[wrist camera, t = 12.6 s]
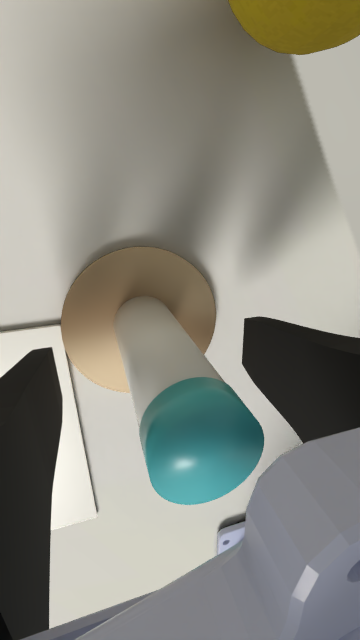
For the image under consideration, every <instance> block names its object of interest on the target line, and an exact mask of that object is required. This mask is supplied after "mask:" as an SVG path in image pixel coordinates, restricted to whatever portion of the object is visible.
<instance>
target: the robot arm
mask: <svg viewBox="0 0 360 640" xmlns="http://www.w3.org/2000/svg"><path fill="white" fill-rule="evenodd" d="M242 364H243V366H244V368H245V369H246V371H247V373H248V375H249V376H250V378H251V379H252V381H253V382H254V383H255V385H256V386H257V387H258V388H259V389H260V391H261V392H262V393H263V394H264V395H265V397H266V398H267V399H268V400H269V401H270V402H271V403H272V405H273V406H274V407H275V408H276V409H277V410H278V411H279V413H280V414H281V415H282V416H283V417H284V418H285V420H286V421H287V422H288V423H289V424H290V426H291V427H292V428H293V429H294V431H295V432H296V433H297V435H298V436H299V438H300V439H301V441H302V442H303V443H304V444H302V445H300V446H298V447H296V448H294V449H292V450H290V451H288V452H286V453H284V454H282V455H280V456H279V457H278V458H277V459H276V460H275V461H274V462H273V463H272V464H271V465H270V466H269V467H268V468H267V469H266V470H265V471H264V472H263V474H262V475H261V476H260V477H259V478H258V480H257V483H256V486H255V488H254V491H253V493H252V496H251V498H250V501H249V504H248V506H247V509H246V521H244V522H241V523H238V524H234V525H231V526H228V527H225V528H223V529H221V530H220V531H219V533H218V543H217V556H215V557H214V558H212V559H210V560H209V561H207V562H205V563H203V564H202V565H200V566H198V567H197V568H195V569H193V570H192V571H190V572H188V573H187V574H185V575H183V576H181V577H180V578H178V579H176V580H175V581H173V582H171V583H170V584H168V585H166V586H165V587H163V588H161V589H159V590H156V591H154V592H151V593H148V594H145V595H143V596H140V597H137V598H134V599H131V600H129V601H126V602H123V603H120V604H118V605H115V606H112V607H109V608H106V609H104V610H101V611H98V612H95V613H93V614H90V615H87V616H84V617H81V618H79V619H76V620H73V621H70V622H68V623H65V624H62V625H59V626H56V627H54V628H51V629H49V576H50V535H51V508H52V491H53V481H54V474H55V468H56V461H57V455H58V448H59V442H60V435H61V428H62V416H63V397H62V392H61V387H60V382H59V378H58V373H57V368H56V364H55V359H54V354H53V349H52V347H48V348H41V349H34V350H32V351H30V352H29V353H28V354H27V355H25V356H24V357H23V358H22V359H21V360H20V361H19V362H18V363H16V364H15V365H14V366H13V367H12V368H11V369H10V370H9V371H7V372H6V373H5V374H4V375H3V376H2V377H1V378H0V640H360V338H355V337H348V336H343V335H337V334H333V333H328V332H324V331H319V330H315V329H311V328H307V327H303V326H299V325H296V324H292V323H288V322H284V321H280V320H276V319H272V318H267V317H252V318H245V319H244V337H243V354H242Z"/></svg>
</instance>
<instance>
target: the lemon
mask: <svg viewBox="0 0 360 640" xmlns="http://www.w3.org/2000/svg"><path fill="white" fill-rule="evenodd" d="M228 1H229V4H230V6H231V9H232V12H233V13H234V15H235V16H236V18H237V19H238V21H239V22H240V24H241V26H242V27H243V29H244V30H245V31H246V32H247V33H248V34H249V35H250V36H251V37H253V38H254V39H255V40H256V41H257V42H258V43H259V44H261V45H263V46H265V47H267V48H269V49H271V50H273V51H276V52H279V53H287V54H296V55H304V54H310V53H314V52H318V51H322V50H326V49H330V48H334V47H337V46H339V45H342V44H344V43H346V42H348V41H350V40H352V39H354V38H355V37H357V36H359V35H360V0H228Z"/></svg>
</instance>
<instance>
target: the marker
mask: <svg viewBox="0 0 360 640" xmlns="http://www.w3.org/2000/svg"><path fill="white" fill-rule="evenodd" d="M114 332H115V335H116V339H117V343H118V347H119V351H120V355H121V359H122V363H123V366H124V370H125V374H126V378H127V382H128V386H129V390H130V394H131V397H132V401H133V405H134V409H135V413H136V417H137V421H138V425H139V428H140V429H139V435H140V441H141V445H142V449H143V453H144V457H145V461H146V465H147V469H148V473H149V477H150V481H151V483H152V486H153V488H154V489H155V491H156V492H157V493H158V494H159V495H160V496H161V497H163V498H164V499H166V500H168V501H170V502H173V503H177V504H185V505H192V504H200V503H205V502H209V501H212V500H215V499H217V498H219V497H221V496H223V495H225V494H227V493H229V492H230V491H232V490H233V489H235V488H236V487H237V486H239V485H240V484H241V483H242V482H243V481H244V480H245V479H246V478H247V477H248V476H249V475H250V474H251V473H252V471H253V470H254V468H255V467H256V465H257V464H258V462H259V460H260V457H261V455H262V451H263V447H264V434H263V430H262V427H261V426H260V424H259V422H258V421H257V420H256V418H255V417H254V416H253V414H252V413H251V412H250V411H249V409H248V408H247V407H246V406H245V404H244V403H243V402H242V400H241V399H240V398H239V397H238V395H237V394H236V393H235V392H234V390H233V389H232V388H231V387H230V386H229V385H228V384H226V383H225V382H224V380H223V379H222V378H221V377H220V375H219V374H218V373H217V371H216V370H215V369H214V368H213V366H212V365H211V364H210V362H209V361H208V360H207V358H206V357H205V356H204V355H203V353H202V352H201V351H200V349H199V348H198V347H197V345H196V344H195V343H194V342H193V340H192V339H191V338H190V336H189V335H188V334H187V333H186V331H185V330H184V329H183V327H182V326H181V325H180V323H179V322H178V321H177V320H176V318H175V317H174V316H173V314H172V313H171V312H170V311H169V309H168V308H167V307H166V305H165V304H164V303H163V302H161V301H160V300H158V299H157V298H154V297H150V296H139V297H135V298H132V299H130V300H128V301H127V302H125V303H124V304H123V305H122V306H121V307H120V308H119V310H118V311H117V313H116V315H115V318H114Z"/></svg>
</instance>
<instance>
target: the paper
mask: <svg viewBox="0 0 360 640" xmlns="http://www.w3.org/2000/svg"><path fill="white" fill-rule="evenodd" d="M48 347H52V349H53V354H54V359H55V364H56V368H57V373H58V378H59V382H60V387H61V392H62V397H63V416H62V428H61V435H60V442H59V448H58V455H57V461H56V468H55V474H54V481H53V491H52V508H51V531H52V530H55V529H59V528H62V527H66V526H69V525H73V524H76V523H80V522H83V521H87V520H90V519H94V518H97V511H96V505H95V500H94V495H93V490H92V485H91V480H90V474H89V469H88V464H87V459H86V454H85V449H84V443H83V438H82V433H81V428H80V423H79V418H78V412H77V407H76V402H75V397H74V392H73V387H72V381H71V376H70V371H69V366H68V361H67V356H66V350H65V348H64V344H63V340H62V335H61V325H60V324H56V325H48V326H41V327H33V328H25V329H18V330H10V331H2V332H0V378H1V377H2V376H3V375H4V374H5V373H6V372H7V371H9V370H10V369H11V368H12V367H13V366H14V365H15V364H16V363H18V362H19V361H20V360H21V359H22V358H23V357H24V356H25V355H27V354H28V353H29V352H30V351H32V350H34V349H41V348H48Z"/></svg>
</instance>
